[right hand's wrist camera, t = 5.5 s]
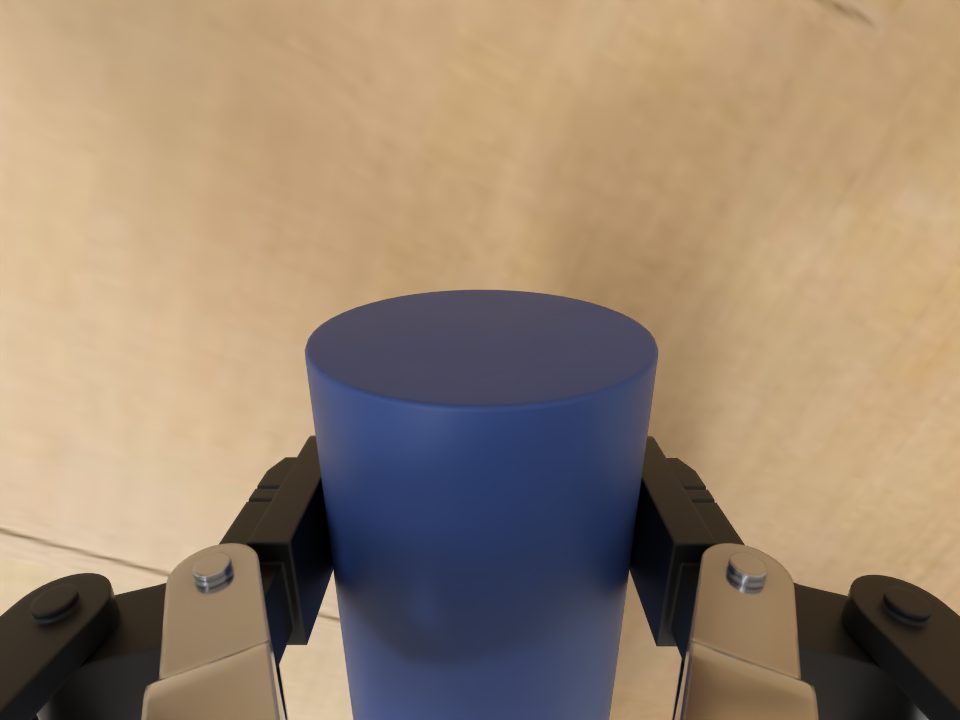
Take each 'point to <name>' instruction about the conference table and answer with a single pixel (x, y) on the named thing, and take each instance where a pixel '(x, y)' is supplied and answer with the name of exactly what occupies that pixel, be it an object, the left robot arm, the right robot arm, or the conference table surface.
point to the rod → (481, 499)
